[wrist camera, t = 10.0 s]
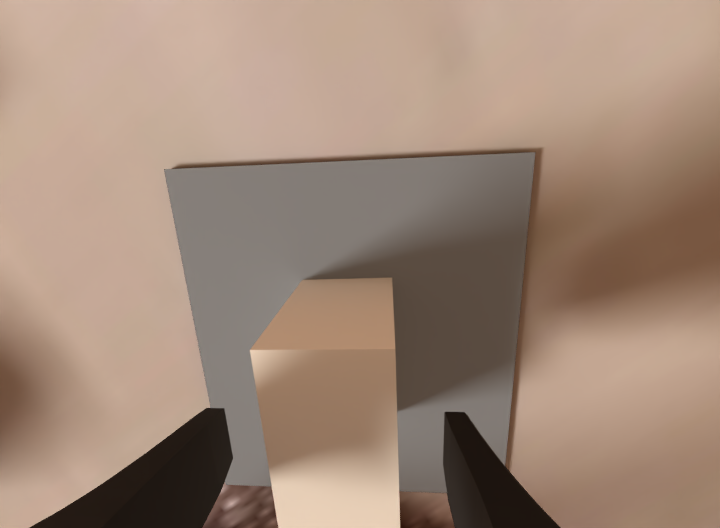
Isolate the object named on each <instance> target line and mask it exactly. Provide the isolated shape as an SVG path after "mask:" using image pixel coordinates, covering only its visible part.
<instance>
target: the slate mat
mask: <svg viewBox="0 0 720 528" xmlns="http://www.w3.org/2000/svg"><path fill="white" fill-rule="evenodd" d="M534 161H535V152H529V153H507V154H486V155H464V156H442V157H421V158H399V159H378V160H356V161H334V162H313V163H291V164H270V165H248V166H226V167H205V168H183V169H164V172H165V177H166V182H167V187H168V192H169V197H170V203H171V208H172V213H173V218H174V223H175V228H176V233H177V238H178V243H179V248H180V254H181V259H182V264H183V269H184V274H185V279H186V284H187V289H188V294H189V300H190V305H191V310H192V315H193V320H194V325H195V330H196V335H197V340H198V346H199V351H200V356H201V361H202V366H203V371H204V376H205V381H206V386H207V392H208V397H209V402H210V407H211V408H224V409H225V415H226V420H227V426H228V432H229V437H230V443H231V448H232V454H233V460H232V463H231V466H230V468H229V471H228V474H227V477H226V479H225V483H226V485H249V486H272V485H271V479H270V473H269V467H268V460H267V454H266V448H265V442H264V435H263V429H262V423H261V417H260V411H259V404H258V398H257V392H256V386H255V379H254V373H253V367H252V361H251V354H250V349H251V348H252V346H253V345H254V344H255V342H256V341H257V340H258V338H259V337H260V336H261V334H262V333H263V332H264V330H265V329H266V328H267V326H268V325H269V324H270V322H271V321H272V320H273V318H274V317H275V316H276V314H277V313H278V312H279V310H280V309H281V308H282V306H283V305H284V304H285V302H286V301H287V300H288V298H289V297H290V296H291V294H292V293H293V292H294V290H295V289H296V288H297V286H298V285H299V284H300V282H301V281H302V280H317V279H355V278H392V287H393V308H394V330H395V354H396V391H397V428H398V465H399V491H406V492H432V493H447V489H446V482H445V475H444V468H443V445H444V412H465V413H466V414H467V415H468V416H469V418H470V420H471V421H472V422H473V424H474V425H475V427H476V428H477V430H478V431H479V433H480V434H481V435H482V437H483V438H484V439H485V441H486V442H487V444H488V445H489V446H490V448H491V449H492V450H493V451H494V453H495V454H496V455H497V457H498V458H499V459H500V460H501V462H502V463H503V464H504V465H505V463H506V452H507V442H508V431H509V421H510V411H511V400H512V390H513V379H514V369H515V359H516V348H517V338H518V327H519V317H520V307H521V296H522V286H523V275H524V265H525V255H526V244H527V234H528V223H529V213H530V203H531V192H532V182H533V171H534Z"/></svg>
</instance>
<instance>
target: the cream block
mask: <svg viewBox="0 0 720 528" xmlns="http://www.w3.org/2000/svg"><path fill="white" fill-rule="evenodd" d="M250 354H251V361H252V367H253V373H254V379H255V386H256V392H257V398H258V404H259V411H260V417H261V423H262V429H263V435H264V442H265V448H266V454H267V460H268V467H269V473H270V479H271V485H272V491H273V498H274V504H275V510H276V516H277V523H278V528H400V502H399V465H398V428H397V391H396V354H395V330H394V308H393V287H392V278H355V279H317V280H302V281H301V282H300V284H299V285H298V286H297V288H296V289H295V290H294V292H293V293H292V294H291V296H290V297H289V298H288V300H287V301H286V302H285V304H284V305H283V306H282V308H281V309H280V310H279V312H278V313H277V314H276V316H275V317H274V318H273V320H272V321H271V322H270V324H269V325H268V326H267V328H266V329H265V330H264V332H263V333H262V334H261V336H260V337H259V338H258V340H257V341H256V342H255V344H254V345H253V346H252V348H251V349H250Z"/></svg>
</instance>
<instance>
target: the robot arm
mask: <svg viewBox="0 0 720 528" xmlns="http://www.w3.org/2000/svg"><path fill="white" fill-rule="evenodd" d="M232 460H233V454H232V448H231V443H230V437H229V432H228V426H227V420H226V415H225V409H224V408H206V409H205V410H203V411H202V412H200V413H199V414H198V415H196V416H195V417H193V418H192V419H191V420H189V421H188V422H187V423H185V424H184V425H183V426H181V427H180V428H179V429H178V430H176V431H175V432H174V433H172V434H171V435H170V436H168V437H167V438H166V439H164V440H163V441H162V442H160V443H159V444H158V445H156V446H155V447H154V448H152V449H151V450H150V451H148V452H147V453H146V454H144V455H143V456H141V457H140V458H139V459H137V460H136V461H134V462H133V463H131V464H130V465H129V466H127V467H126V468H124V469H123V470H121V471H120V472H119V473H117V474H116V475H114V476H113V477H112V478H110V479H109V480H107V481H106V482H104V483H103V484H101V485H100V486H98V487H97V488H95V489H94V490H92V491H90V492H89V493H87V494H86V495H84V496H83V497H81V498H79V499H78V500H76V501H75V502H73V503H71V504H70V505H68V506H66V507H65V508H63V509H62V510H60V511H58V512H56V513H55V514H53V515H51V516H50V517H48V518H46V519H44V520H42V521H41V522H39V523H37V524H35V525H33V526H32V527H30V528H202V527H203V525H204V523H205V521H206V519H207V517H208V515H209V513H210V512H211V510H212V508H213V506H214V504H215V502H216V500H217V498H218V496H219V494H220V492H221V489H222V487H223V484H224V482H225V479H226V477H227V474H228V471H229V468H230V466H231V463H232ZM443 468H444V475H445V482H446V489H447V495H448V501H449V505H450V509H451V513H452V518H453V522H454V526H455V528H560V527H559V526H558V525H557V524H556V523H555V522H554V521H553V520H552V519H551V517H550V516H549V515H548V514H547V513H546V512H545V511H544V510H543V509H542V508H541V507H540V506H539V505H538V504H537V503H536V502H535V500H534V499H533V498H532V497H531V496H530V495H529V494H528V493H527V491H526V490H525V489H524V488H523V487H522V486H521V485H520V483H519V482H518V481H517V480H516V479H515V478H514V476H513V475H512V474H511V473H510V472H509V470H508V469H507V468H506V467H505V465H504V464H503V463H502V462H501V460H500V459H499V458H498V457H497V455H496V454H495V453H494V451H493V450H492V449H491V448H490V446H489V445H488V444H487V442H486V441H485V439H484V438H483V437H482V435H481V434H480V433H479V431H478V430H477V428H476V427H475V425H474V424H473V422H472V421H471V420H470V418H469V416H468V415H467V414H466V413H465V412H444V445H443Z"/></svg>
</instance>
